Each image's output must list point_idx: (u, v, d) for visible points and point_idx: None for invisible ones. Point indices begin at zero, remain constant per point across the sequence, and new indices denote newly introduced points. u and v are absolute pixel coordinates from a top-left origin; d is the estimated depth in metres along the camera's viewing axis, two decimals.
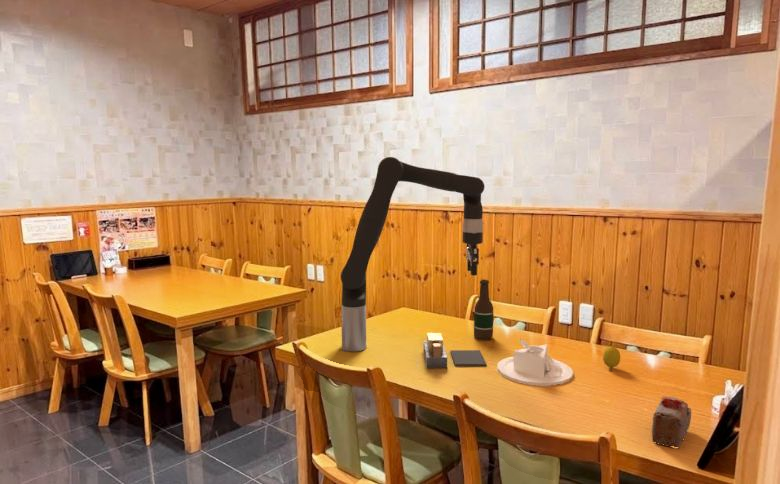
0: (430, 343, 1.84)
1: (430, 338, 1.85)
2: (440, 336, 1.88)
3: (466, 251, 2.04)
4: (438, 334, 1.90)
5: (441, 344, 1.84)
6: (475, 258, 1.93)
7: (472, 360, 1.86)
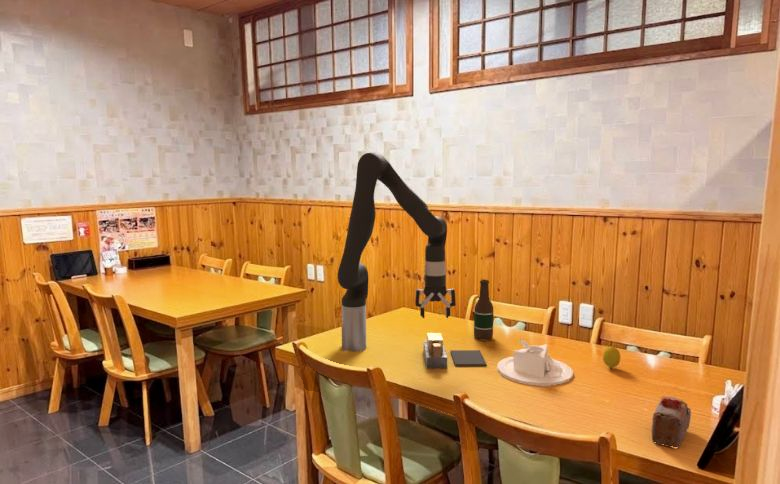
0: (430, 343, 1.84)
1: (430, 338, 1.85)
2: (440, 336, 1.88)
3: (416, 298, 1.85)
4: (438, 334, 1.90)
5: (441, 344, 1.84)
6: None
7: (472, 360, 1.86)
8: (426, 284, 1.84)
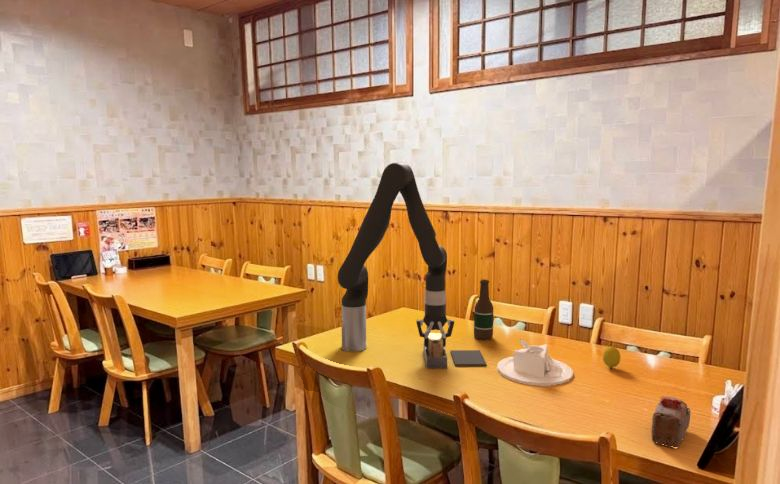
0: (430, 343, 1.84)
1: (430, 338, 1.85)
2: (440, 336, 1.88)
3: (418, 330, 1.86)
4: (438, 334, 1.90)
5: (441, 344, 1.84)
6: None
7: (472, 360, 1.86)
8: (426, 313, 1.85)
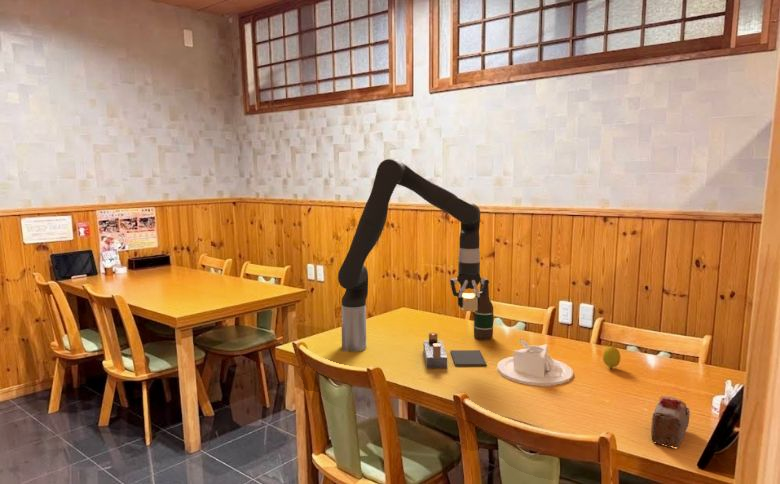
0: (464, 301, 1.82)
1: (464, 297, 1.83)
2: (474, 295, 1.86)
3: (452, 289, 1.84)
4: (471, 294, 1.88)
5: (476, 302, 1.82)
6: None
7: (472, 360, 1.86)
8: (460, 271, 1.83)
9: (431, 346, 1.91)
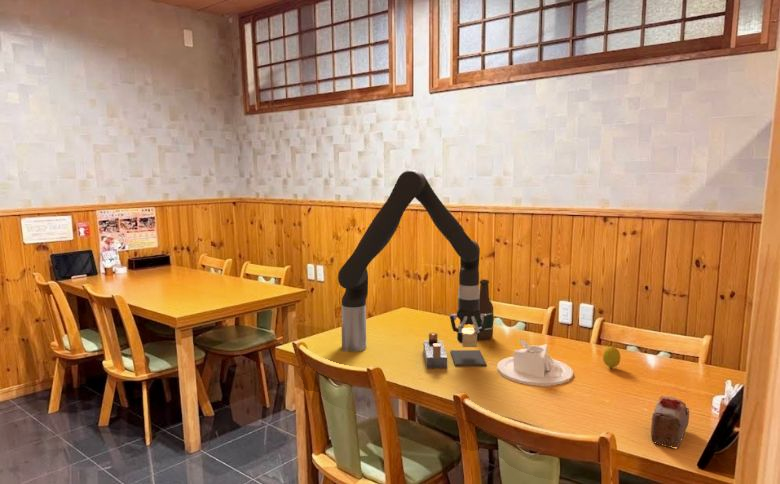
0: (464, 338, 1.84)
1: (464, 333, 1.85)
2: (473, 331, 1.88)
3: (452, 324, 1.86)
4: (471, 329, 1.90)
5: (475, 339, 1.84)
6: None
7: (472, 360, 1.86)
8: (460, 307, 1.85)
9: (431, 346, 1.91)
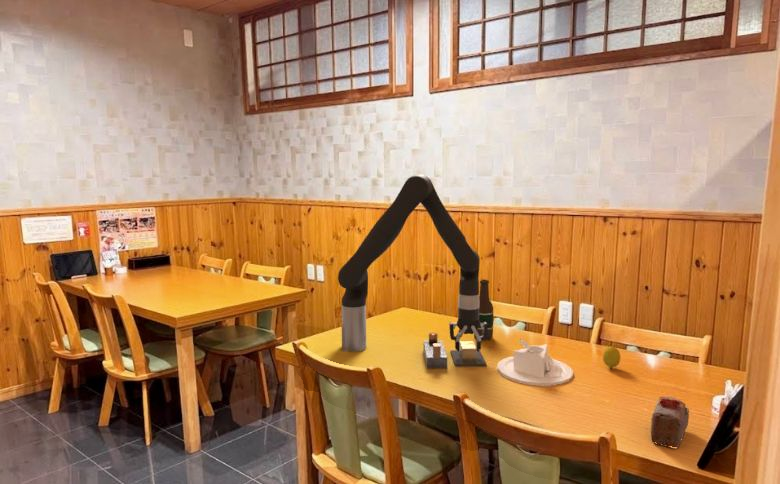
0: (464, 352, 1.85)
1: (464, 347, 1.86)
2: (473, 344, 1.89)
3: (450, 332, 1.87)
4: (470, 342, 1.91)
5: (475, 353, 1.85)
6: None
7: None
8: (460, 317, 1.85)
9: (431, 346, 1.91)
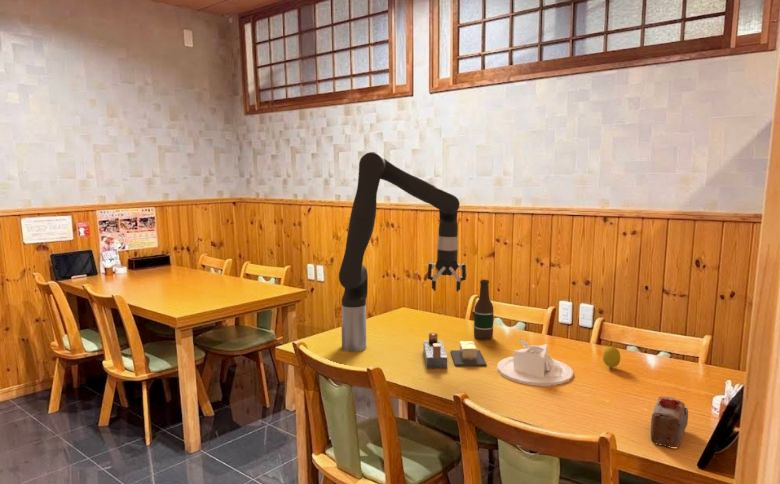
0: (464, 352, 1.85)
1: (464, 347, 1.86)
2: (473, 344, 1.89)
3: (428, 272, 1.94)
4: (470, 342, 1.91)
5: (475, 353, 1.85)
6: None
7: None
8: (438, 258, 1.92)
9: (431, 346, 1.91)
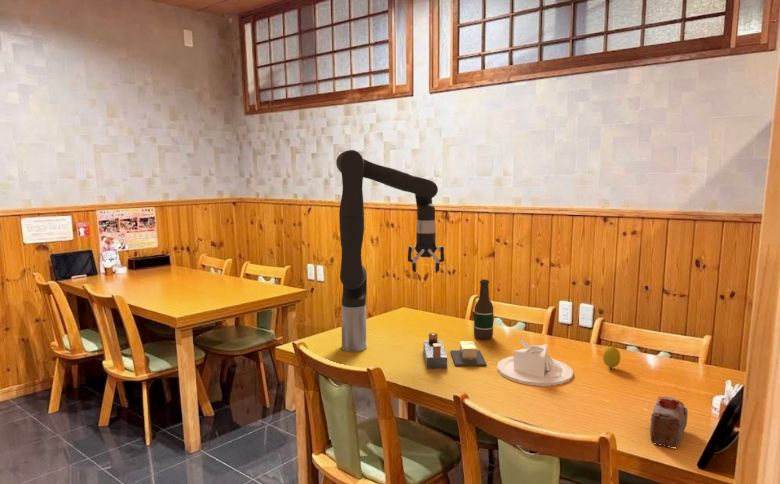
0: (464, 352, 1.85)
1: (464, 347, 1.86)
2: (473, 344, 1.89)
3: (408, 254, 2.03)
4: (470, 342, 1.91)
5: (475, 353, 1.85)
6: None
7: None
8: (417, 241, 2.02)
9: (431, 346, 1.91)
